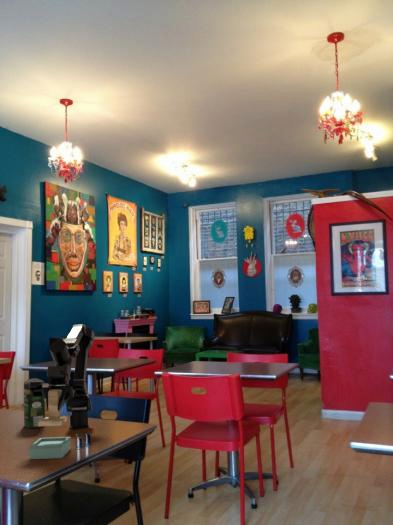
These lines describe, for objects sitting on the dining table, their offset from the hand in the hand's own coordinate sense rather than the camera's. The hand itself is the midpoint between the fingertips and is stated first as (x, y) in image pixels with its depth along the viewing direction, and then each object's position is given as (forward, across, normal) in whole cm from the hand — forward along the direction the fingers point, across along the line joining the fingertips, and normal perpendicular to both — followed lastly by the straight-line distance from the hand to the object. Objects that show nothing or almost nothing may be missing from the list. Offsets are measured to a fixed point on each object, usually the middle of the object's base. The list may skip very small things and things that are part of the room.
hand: (53, 410), depth 158 cm
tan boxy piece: (+3, 0, +2) cm, 4 cm away
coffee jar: (-17, -20, +36) cm, 45 cm away
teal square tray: (+11, 0, +7) cm, 13 cm away
